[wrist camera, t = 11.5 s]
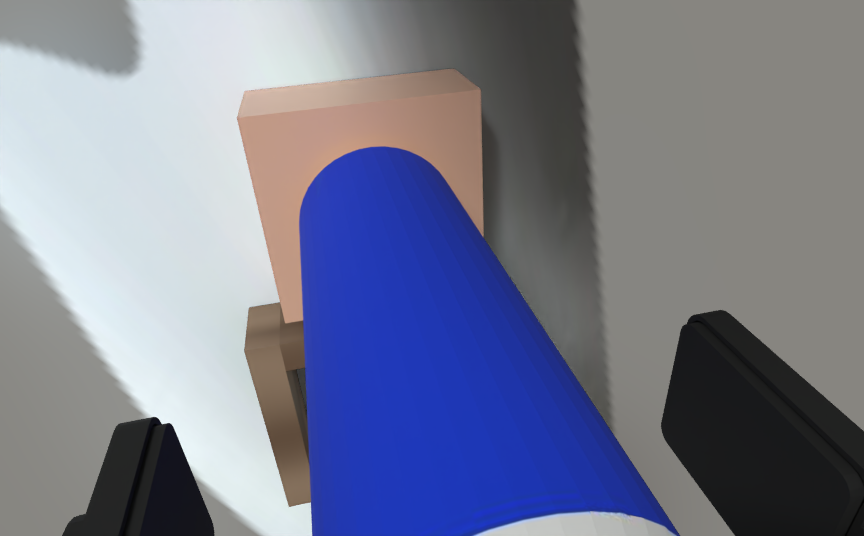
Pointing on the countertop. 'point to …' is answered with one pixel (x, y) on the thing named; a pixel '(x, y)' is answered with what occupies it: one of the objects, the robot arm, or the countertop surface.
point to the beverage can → (441, 376)
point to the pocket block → (281, 393)
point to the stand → (353, 147)
